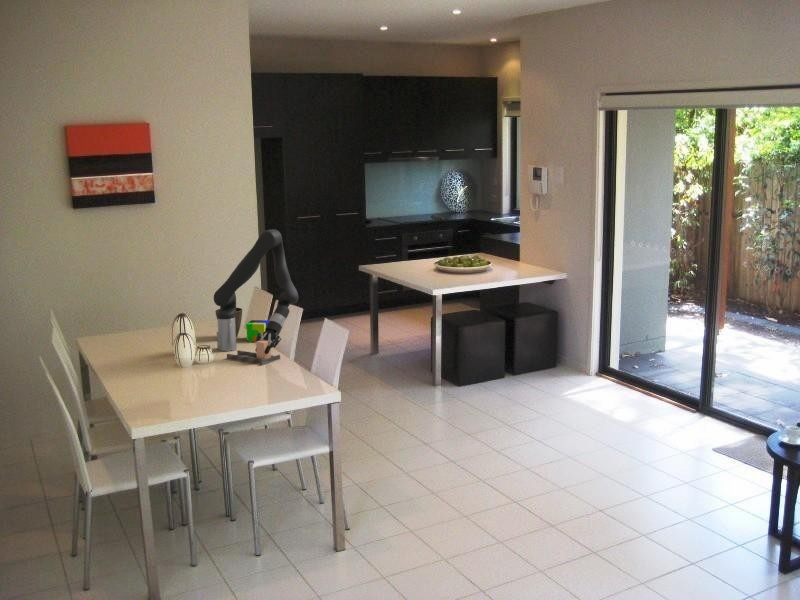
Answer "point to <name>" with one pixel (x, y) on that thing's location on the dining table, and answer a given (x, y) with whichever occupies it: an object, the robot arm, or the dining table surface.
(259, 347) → the terracotta block
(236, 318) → the plant pot
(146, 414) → the dining table surface
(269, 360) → the dark grey flat frame
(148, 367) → the dining table surface
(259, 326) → the puzzle toy
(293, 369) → the dining table surface
